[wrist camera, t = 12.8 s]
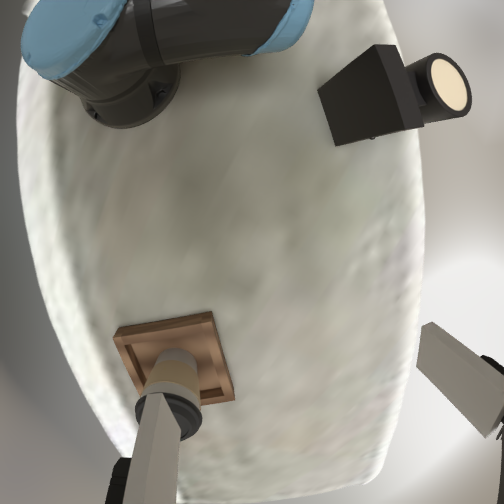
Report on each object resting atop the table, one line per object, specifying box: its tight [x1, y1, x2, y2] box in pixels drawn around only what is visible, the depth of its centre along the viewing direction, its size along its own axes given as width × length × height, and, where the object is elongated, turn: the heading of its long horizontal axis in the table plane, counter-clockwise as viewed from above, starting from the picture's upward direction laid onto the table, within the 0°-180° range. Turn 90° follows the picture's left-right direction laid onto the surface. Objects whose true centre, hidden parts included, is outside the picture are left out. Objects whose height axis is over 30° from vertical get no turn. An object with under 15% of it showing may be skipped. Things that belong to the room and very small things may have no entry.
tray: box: [113, 311, 235, 406], centre depth 43 cm, size 16×16×4 cm
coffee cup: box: [135, 348, 202, 441], centre depth 37 cm, size 9×9×15 cm
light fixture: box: [317, 44, 472, 146], centre depth 30 cm, size 10×14×18 cm
